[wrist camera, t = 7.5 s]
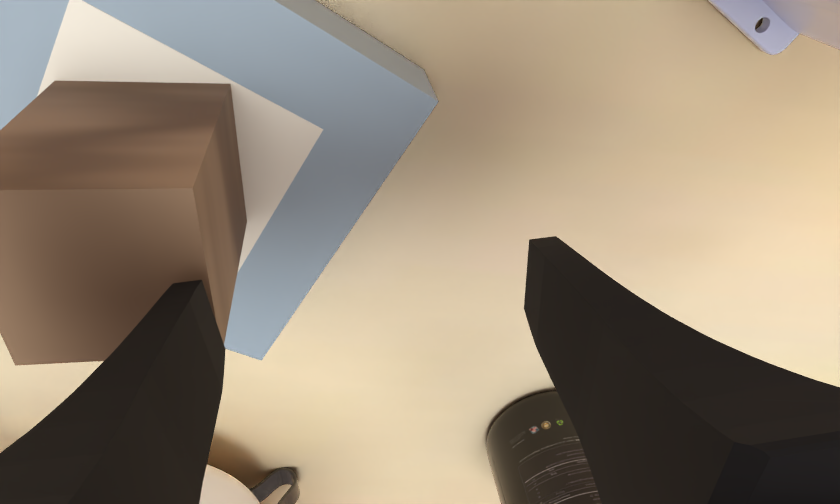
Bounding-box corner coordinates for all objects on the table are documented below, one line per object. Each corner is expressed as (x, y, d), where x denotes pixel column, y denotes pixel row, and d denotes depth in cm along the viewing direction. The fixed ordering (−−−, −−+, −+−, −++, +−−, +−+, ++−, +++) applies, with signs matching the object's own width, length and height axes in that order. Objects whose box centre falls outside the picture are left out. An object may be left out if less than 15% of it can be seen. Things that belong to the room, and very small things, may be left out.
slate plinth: (423, 69, 20) (438, 101, 17) (266, 309, 25) (261, 361, 22) (36, -178, 15) (-21, -182, 12) (-63, 186, 20) (-117, 235, 17)
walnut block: (230, 83, 16) (192, 188, 11) (247, 221, 19) (222, 354, 14) (54, 80, 15) (-66, 190, 11) (97, 223, 18) (15, 365, 13)
